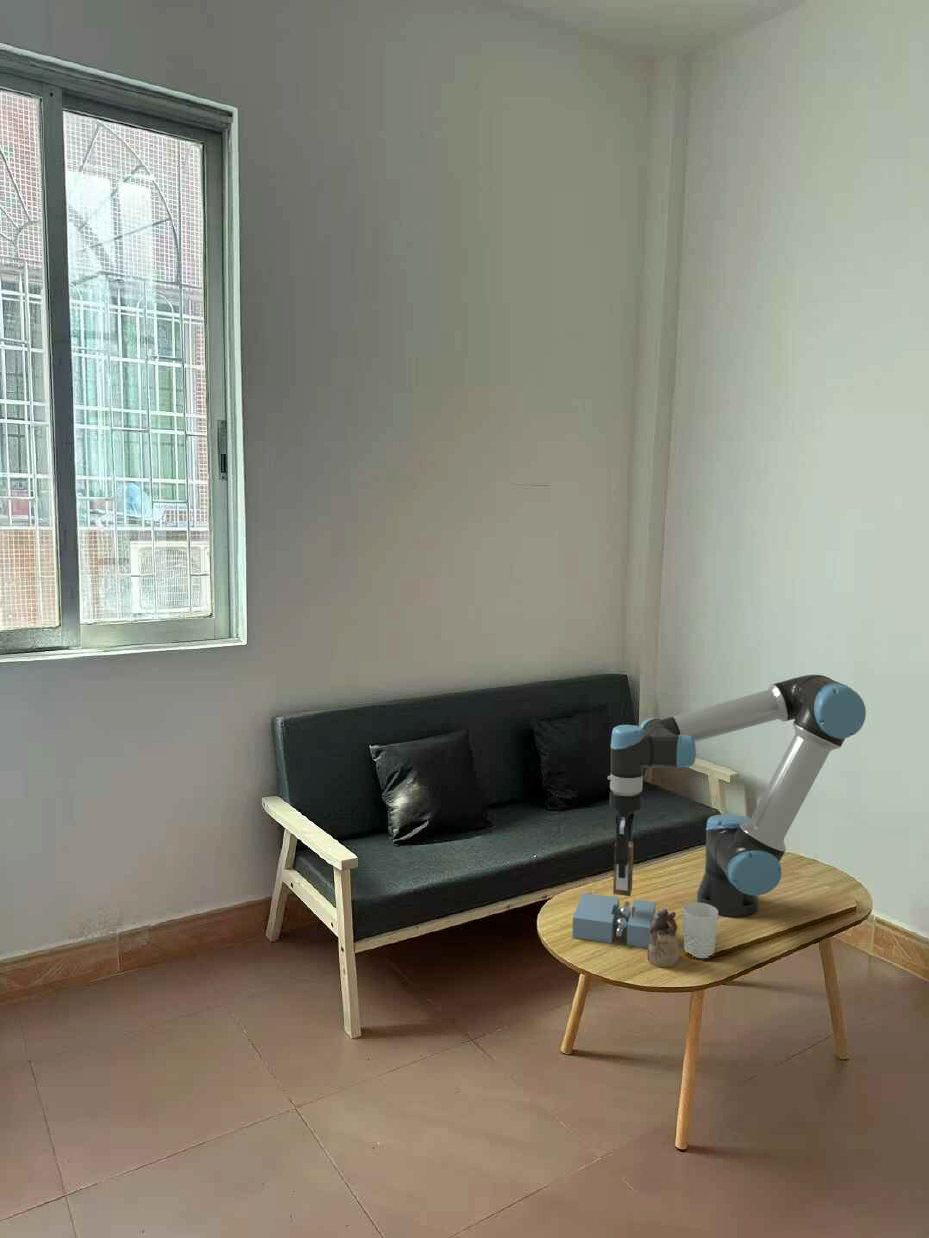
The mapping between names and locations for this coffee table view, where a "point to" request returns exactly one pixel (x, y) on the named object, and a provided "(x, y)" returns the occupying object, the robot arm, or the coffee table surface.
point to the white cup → (699, 929)
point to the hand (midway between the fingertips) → (623, 885)
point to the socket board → (611, 919)
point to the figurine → (663, 940)
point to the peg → (630, 872)
